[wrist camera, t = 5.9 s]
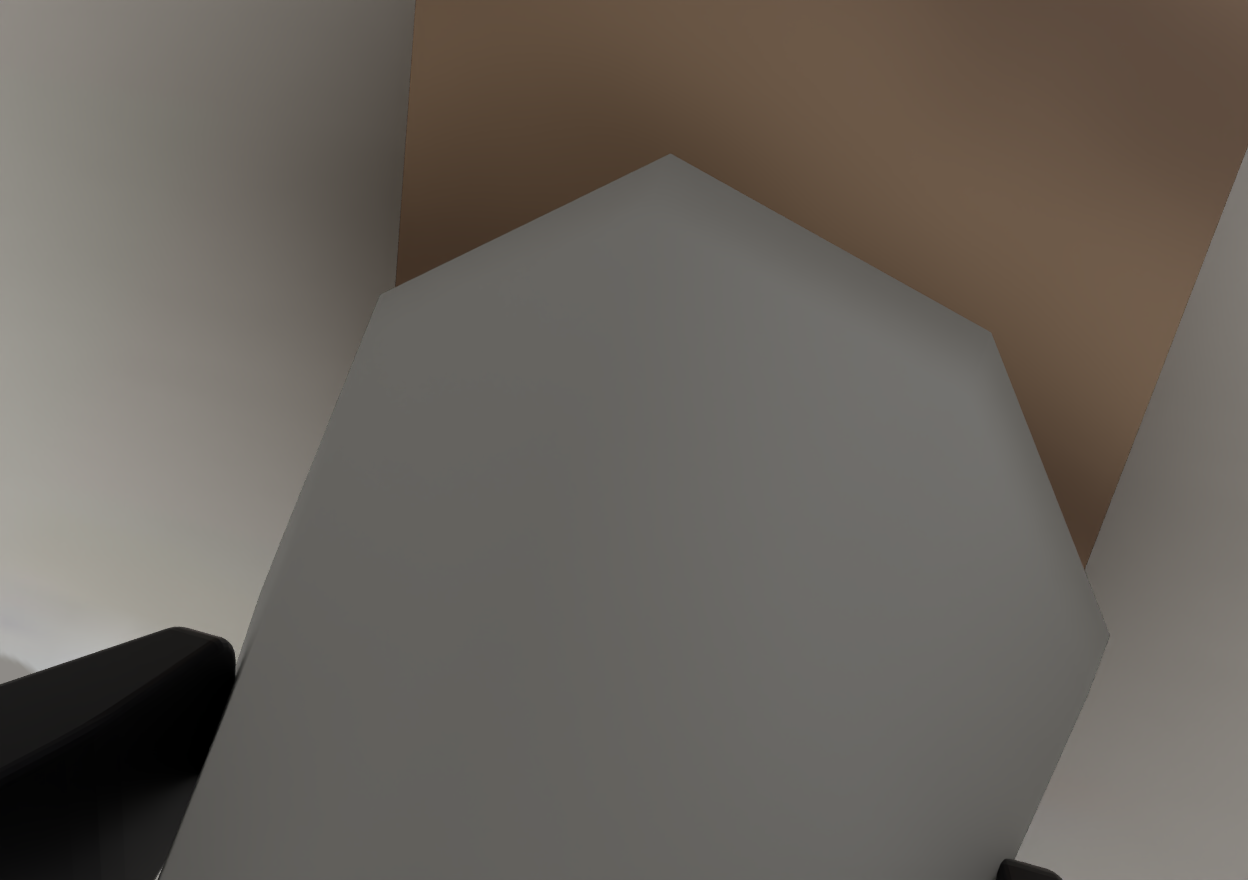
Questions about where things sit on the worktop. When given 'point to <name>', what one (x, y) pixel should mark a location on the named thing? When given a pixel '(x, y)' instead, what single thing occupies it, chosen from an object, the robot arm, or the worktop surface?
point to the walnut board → (879, 160)
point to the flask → (656, 576)
